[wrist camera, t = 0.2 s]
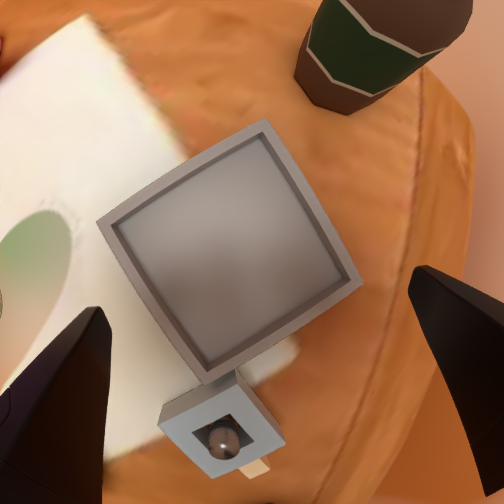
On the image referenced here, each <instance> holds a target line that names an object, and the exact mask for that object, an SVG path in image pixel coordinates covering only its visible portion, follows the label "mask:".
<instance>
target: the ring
mask: <svg viewBox="0 0 504 504" xmlns="http://www.w3.org/2000/svg"><path fill="white" fill-rule="evenodd" d="M229 413H230V414H231V415H232V416H233V418H234V419H235V420H236V421H237V422H238V423H239V425H240V427H238V428H237V432H238V440H239V447H240V451H239V454H238V455H237V456H236V457H234V458H232V459H229V460H219V459H216V458H214V457H212V456H211V455H210V453H209V451H208V434H209V429H208V428H207V427H206V426H205V425H208V424H210V423H212V422H214V421H216V420H217V419H219V418H221V417H223V416H225V415H227V414H229ZM157 425H158V426H159V428H160V429H161V430H162V431H163V432H164V433H165V434H166V435H167V436H168V437H169V438H170V439H171V440H172V441H173V442H174V443H175V444H176V445H177V446H178V447H179V448H180V449H181V450H182V451H183V452H184V453H185V454H186V455H187V456H188V457H189V458H190V459H191V460H192V461H193V462H194V463H195V464H196V465H197V466H198V467H199V468H200V469H202V470H203V471H204V472H205V473H206V474H207V475H208V476H209V477H210V478H212V479H214V478H216V477H219V476H221V475H224V474H226V473H228V472H231V471H233V470H235V469H237V468H238V469H239V470H240V471H241V472H242V473H243V474H244V475H245V476H247V477H248V478H249V479H252V478H254V477H256V476H258V475H261V474H263V473H265V472H267V471H269V470H270V466H269V462H268V458H267V454H269V453H271V452H273V451H275V450H277V449H278V448H280V447H282V446H284V445H286V441H285V438H284V435H283V433H282V430H281V427H280V424H279V423H278V422H277V421H276V419H275V418H274V417H273V416H272V414H271V413H270V412H269V411H268V409H267V408H266V407H265V406H264V404H263V403H262V402H261V400H260V399H259V398H258V397H257V395H256V394H255V393H254V391H253V390H252V389H251V387H250V386H249V385H248V383H247V382H246V381H245V380H244V378H243V377H242V376H241V374H240V373H239V371H238V370H237V369H236V368H235V369H233V370H231V371H230V372H228V373H226V374H224V375H223V376H221V377H219V378H217V379H216V380H214V381H212V382H210V383H208V384H207V385H205V386H203V384H202V385H201V386H199V387H197V388H195V389H193V390H191V391H190V392H188V393H186V394H184V395H182V396H180V397H178V398H176V399H174V400H172V401H170V402H169V403H167V404H165V405H163V407H162V410H161V414H160V417H159V421H158V424H157Z"/></svg>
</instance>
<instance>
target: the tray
mask: <svg viewBox="0 0 504 504" xmlns="http://www.w3.org/2000/svg"><path fill="white" fill-rule="evenodd" d="M96 223H97V225H98V227H99V229H100V231H101V232H102V234H103V236H104V238H105V240H106V241H107V243H108V245H109V247H110V248H111V250H112V252H113V254H114V255H115V257H116V259H117V260H118V262H119V264H120V265H121V267H122V269H123V270H124V272H125V274H126V275H127V277H128V279H129V280H130V282H131V283H132V285H133V287H134V288H135V290H136V291H137V293H138V295H139V296H140V298H141V299H142V301H143V302H144V304H145V305H146V307H147V308H148V310H149V311H150V313H151V314H152V316H153V317H154V319H155V320H156V322H157V323H158V325H159V326H160V328H161V329H162V330H163V332H164V333H165V335H166V336H167V338H168V339H169V340H170V342H171V343H172V345H173V346H174V347H175V349H176V350H177V351H178V353H179V354H180V356H181V357H182V358H183V360H184V361H185V362H186V364H187V365H188V366H189V368H190V369H191V370H192V371H193V373H194V374H195V375H196V377H197V378H198V379H199V380H200V382H201V383H202V384H203V386H205V385H207V384H208V383H210V382H212V381H214V380H216V379H217V378H219V377H221V376H223V375H224V374H226V373H228V372H230V371H231V370H233V369H235V368H237V367H238V366H240V365H242V364H243V363H245V362H247V361H248V360H250V359H252V358H253V357H255V356H257V355H258V354H260V353H262V352H263V351H265V350H267V349H268V348H270V347H271V346H273V345H275V344H276V343H278V342H279V341H281V340H283V339H284V338H286V337H287V336H289V335H290V334H292V333H293V332H295V331H297V330H298V329H300V328H301V327H303V326H304V325H306V324H307V323H309V322H310V321H312V320H313V319H315V318H316V317H318V316H319V315H321V314H322V313H323V312H325V311H326V310H328V309H329V308H331V307H332V306H334V305H335V304H336V303H338V302H339V301H341V300H342V299H344V298H345V297H346V296H348V295H349V294H351V293H352V292H353V291H355V290H356V289H357V288H359V287H360V286H362V285H363V284H364V281H363V279H362V278H361V276H360V274H359V272H358V270H357V268H356V266H355V264H354V262H353V260H352V258H351V257H350V255H349V253H348V251H347V249H346V247H345V245H344V244H343V242H342V240H341V238H340V236H339V235H338V233H337V231H336V229H335V227H334V226H333V224H332V222H331V220H330V219H329V217H328V215H327V213H326V212H325V210H324V208H323V207H322V205H321V203H320V201H319V200H318V198H317V196H316V195H315V193H314V191H313V190H312V188H311V186H310V185H309V183H308V181H307V180H306V178H305V176H304V175H303V173H302V172H301V170H300V168H299V167H298V165H297V164H296V162H295V160H294V159H293V157H292V156H291V154H290V153H289V151H288V149H287V148H286V146H285V145H284V143H283V142H282V140H281V139H280V137H279V136H278V134H277V133H276V131H275V130H274V128H273V127H272V125H271V124H270V122H269V121H268V119H267V118H266V117H265V118H263V119H261V120H259V121H257V122H255V123H253V124H252V125H250V126H248V127H246V128H244V129H242V130H240V131H238V132H236V133H235V134H233V135H231V136H229V137H227V138H225V139H224V140H222V141H220V142H218V143H217V144H215V145H213V146H211V147H209V148H208V149H206V150H204V151H203V152H201V153H199V154H197V155H196V156H194V157H192V158H191V159H189V160H187V161H186V162H184V163H182V164H181V165H179V166H178V167H176V168H174V169H173V170H171V171H170V172H168V173H166V174H165V175H163V176H162V177H160V178H159V179H157V180H155V181H154V182H152V183H151V184H149V185H148V186H146V187H145V188H143V189H142V190H140V191H139V192H137V193H136V194H134V195H133V196H131V197H130V198H128V199H127V200H126V201H124V202H123V203H121V204H120V205H118V206H117V207H116V208H114V209H113V210H111V211H110V212H109V213H107V214H106V215H104V216H103V217H102V218H100V219H99V220H98V221H96Z"/></svg>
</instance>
